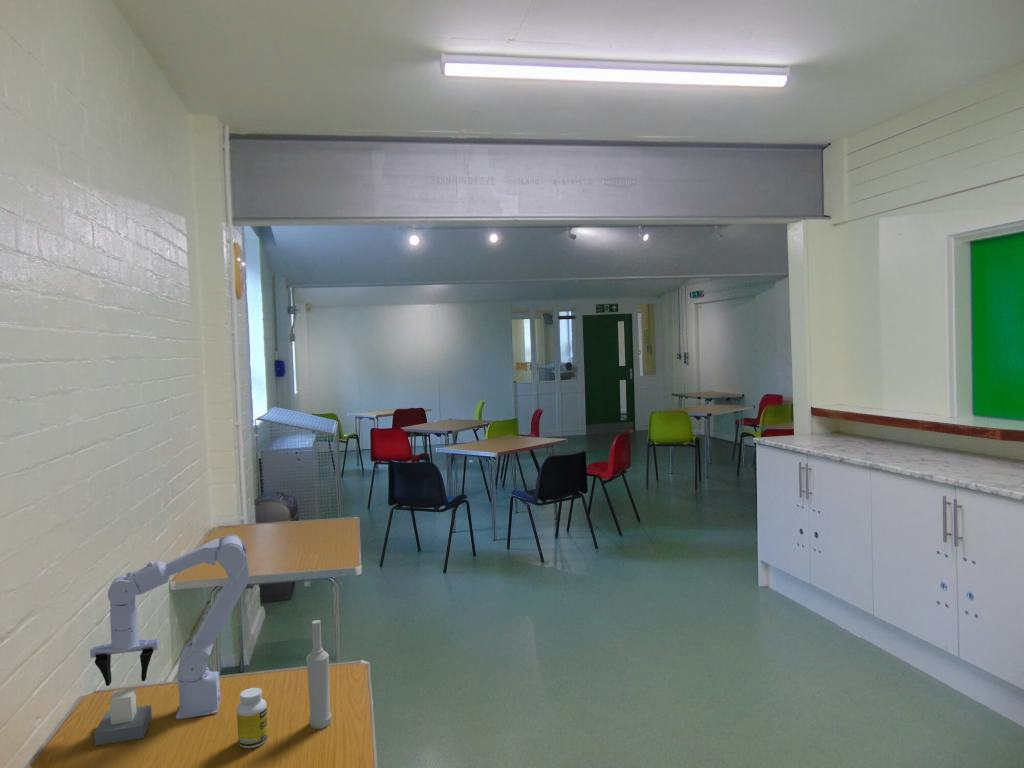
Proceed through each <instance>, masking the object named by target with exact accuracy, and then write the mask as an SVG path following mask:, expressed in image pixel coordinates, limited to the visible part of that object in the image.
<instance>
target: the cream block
mask: <svg viewBox="0 0 1024 768" xmlns="http://www.w3.org/2000/svg"><path fill="white" fill-rule="evenodd" d="M136 695H137V694H136V687H132V688H126V689H119V690H114V691H113V692H112V694H111V697H110V698H109V699H108V700H109V711H110V717H111V725H112V724H118V723H125V722H131V721H133V719H134V716H135V714H136V712H137V710H136V707H137V697H136Z"/></svg>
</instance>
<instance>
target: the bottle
mask: <svg viewBox="0 0 1024 768" xmlns="http://www.w3.org/2000/svg"><path fill="white" fill-rule="evenodd" d="M321 625H322V623H321V620H320V619H315V620H313V621H311V631H312V649H311V652H310V653H309V654H308V655H307V656H306V669H307V670H306V671H307V684H308V685H307V687H308V700H309V715H310V716H309V717H308V719H309V720H308V721H309V725H310V727H311V728H312V729H315V730H320V729H324V728H327V727H328V726H330V724H331V723H332V712H331V707H330V706H331V705H330V704H331V698H330V696H331V695H330V654H329V653H328V652H327V651H325V650H324V648H323V647H322V626H321Z"/></svg>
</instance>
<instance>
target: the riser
mask: <svg viewBox="0 0 1024 768" xmlns="http://www.w3.org/2000/svg"><path fill="white" fill-rule="evenodd" d="M136 710H137V712H136V714H135V716H134V719H133V721H131V722H125V723H118V724H112V725H111V717H110V710H109V711H105V712H104V714H103V716H102V718H101V720H100V722H99V723H98V726H97V727H96V729H95V731H94V733H93V735H94V746H95V747H97V746H102V745H109V744H115V743H119V742H120V743H122V742H126V741H133V740H140V739H144V737H145V734H146V732H147V729H148V727H149V725H150V722H151V720H152V717H153V715H152V704H148V705H142V706H136Z"/></svg>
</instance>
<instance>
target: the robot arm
mask: <svg viewBox="0 0 1024 768" xmlns="http://www.w3.org/2000/svg"><path fill="white" fill-rule="evenodd" d="M216 561H217V562H218V564H219V565H220V566H221V568H223V570H225V573H226V575H227V580H226V581H225V583H224V585H223V587H222V588H221V590H220V592H219V594H218V596H217V598H216V600H214V603H213V605H212V606H211V609H210V610H209V612H208V613H207V615H206V618H205V619H204V620H203V622H202V624H201V626H200V628H199V630H198V631H197V633H196V634H195V635H194V636H193V637H192V639H191V641H190V642H189V643H188V644H186V645H185V646H184V647H183V648H182V649H181V651H180V653H179V659H180V660H179V664H178V667H177V673H178V675H177V686H178V704H179V705H178V706H179V708H178V710H177V712H176V715H175V720H184V719H189V718H195V717H201V716H202V717H203V716H207V715H213V714H214V715H215V714H217V713H218V712H219V707H220V703H221V699H222V697H221V687H220V686H221V685H220V672H219V671H212V670H210V668H209V667H208V665H207V661H208V659H209V657H210V655H211V653H212V651H213V650H212V649H213V646H214V645H215V642H216V641H217V639H218V637H219V635H220V633H221V631H222V630H223V629H224V626H225V625H226V623H227V621H228V619H229V618H230V615H231V614H232V612H233V610H234V608H235V606H236V604H237V603H238V601H239V600H240V598H241V595H242V594H243V592H244V590H245V588H246V587H247V585H248V583H249V581H250V579H251V578H250V570H249V563H248V562H249V561H248V553H247V548H246V545H245V544H244V542H243V539H241V537H240V536H238V535H236V534H226V535H224V536H222V537H221V538H216V539H215V538H214V539H212V540H211V541H208V542H207V543H204V544H203V545H201V546H198V547H196V548H194V549H192V550H190V551H188V552H186V553H184V554H182V555H180V556H178V557H176V558H174V559H172V560H170V561H168V562H162V561H159V560H158V561H155V562H154V561H152V560H151V561H149V562H147V563H146V566H144V567H141V568H139V569H137V570H135V571H133V572H132V571H128V572H126V574H123V575H118V576H117V577H116V578H114V580H113V581H112V582H111V584H110V586H109V588H108V591H107V599H108V600H109V602H110V603H109V606H110V610H109V619H110V621H109V622H110V640H111V641H110V643H105V644H101V645H97V646H96V645H95V646H92V647H91V648H90V649H89V653H90V654H89V656H90V659H91V658H92V659H93V658H94V659H95V660H94V665H96V667H97V668H98V669H99V672H100V673H101V674H102V675H101V676H102V677H103V679H104V682H105V686H106V687H109V686H110V685H111V683H112V671H111V668H112V667H111V662H112V658H111V657H112V655H116V654H118V655H119V654H125V653H133V652H141V653H140V655H139V659H140V666H141V667H140V668H141V671H140V673H141V676H140V678H141V680H140V681H141V682H145V681H146V679H147V673H148V667H149V665H150V661H151V658H152V656H153V654H154V651H157V650H159V648H160V640H159V638H157V639H156V638H155V639H142V638H141V639H139V628H138V627H139V625H138V607H137V603H136V602H137V599H136V598H137V597H136V596H141V595H143V594H145V593H147V592H149V591H153V590H154V589H156V588H158V587H160V586H162V585H165V584H167V583H168V582H169V580H170V578H171V576H173V575H175V574H178V573H180V572H183V571H186V570H189V569H190V568H192V567H196V566H199V565H200V564H204V563H205V564H206V565H207V564H208V565H212V566H216V563H217V562H216Z"/></svg>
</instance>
